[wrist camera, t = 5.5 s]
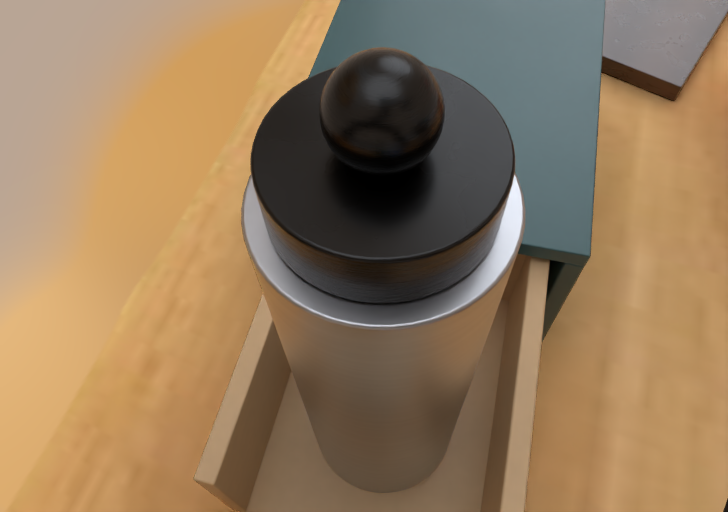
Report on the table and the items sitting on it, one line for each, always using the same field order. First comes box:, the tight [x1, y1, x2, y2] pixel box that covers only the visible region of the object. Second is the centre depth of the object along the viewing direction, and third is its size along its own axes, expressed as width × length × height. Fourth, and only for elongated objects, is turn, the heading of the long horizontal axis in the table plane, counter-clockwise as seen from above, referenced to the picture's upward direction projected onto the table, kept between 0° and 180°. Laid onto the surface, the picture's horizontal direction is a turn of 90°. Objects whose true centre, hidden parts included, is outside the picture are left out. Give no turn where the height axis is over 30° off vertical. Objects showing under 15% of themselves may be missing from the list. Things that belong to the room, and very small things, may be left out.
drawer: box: [194, 254, 550, 512], centre depth 24 cm, size 20×12×7 cm, turn 166°
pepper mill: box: [241, 47, 525, 493], centre depth 18 cm, size 6×6×20 cm
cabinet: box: [308, 0, 606, 341], centre depth 32 cm, size 17×14×9 cm
